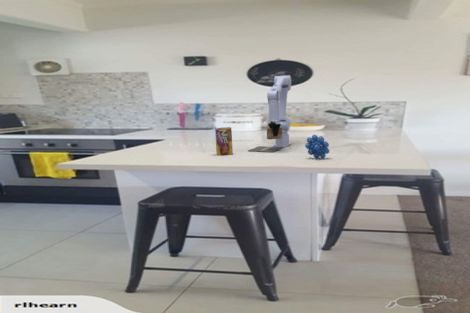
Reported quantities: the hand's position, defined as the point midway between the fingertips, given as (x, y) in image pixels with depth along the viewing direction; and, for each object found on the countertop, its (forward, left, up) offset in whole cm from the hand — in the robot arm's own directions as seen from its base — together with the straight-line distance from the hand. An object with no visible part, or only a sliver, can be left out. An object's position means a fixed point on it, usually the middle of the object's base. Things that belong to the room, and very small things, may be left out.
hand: (274, 135), depth 191 cm
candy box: (+19, -23, -9) cm, 31 cm away
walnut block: (0, 0, -2) cm, 2 cm away
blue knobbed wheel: (+16, +29, -9) cm, 35 cm away
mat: (-2, -7, -9) cm, 11 cm away
